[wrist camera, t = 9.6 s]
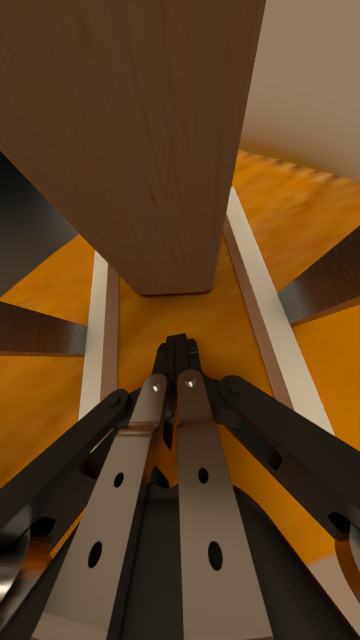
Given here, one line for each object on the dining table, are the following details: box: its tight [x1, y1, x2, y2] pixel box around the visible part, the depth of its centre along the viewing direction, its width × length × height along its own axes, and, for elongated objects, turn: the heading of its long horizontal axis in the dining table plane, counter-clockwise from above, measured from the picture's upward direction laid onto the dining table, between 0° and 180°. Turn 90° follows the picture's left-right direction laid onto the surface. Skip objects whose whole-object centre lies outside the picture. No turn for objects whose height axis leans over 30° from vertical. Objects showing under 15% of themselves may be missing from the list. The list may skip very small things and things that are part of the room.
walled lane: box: [78, 187, 335, 452], centre depth 15 cm, size 20×28×2 cm
